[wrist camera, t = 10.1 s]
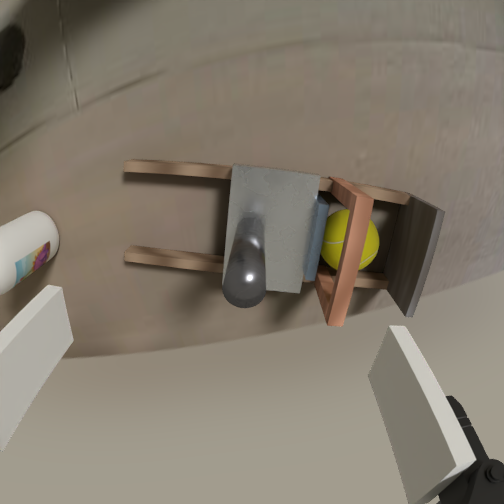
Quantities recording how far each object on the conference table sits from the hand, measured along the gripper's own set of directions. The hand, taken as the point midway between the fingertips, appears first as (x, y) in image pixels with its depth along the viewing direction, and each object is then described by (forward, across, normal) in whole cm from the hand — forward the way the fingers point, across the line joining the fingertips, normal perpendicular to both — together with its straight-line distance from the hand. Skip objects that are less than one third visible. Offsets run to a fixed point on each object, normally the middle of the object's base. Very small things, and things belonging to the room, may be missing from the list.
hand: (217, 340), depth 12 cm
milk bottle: (+27, -30, -8) cm, 41 cm away
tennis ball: (+27, +12, -4) cm, 30 cm away
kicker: (+27, +3, -4) cm, 27 cm away
